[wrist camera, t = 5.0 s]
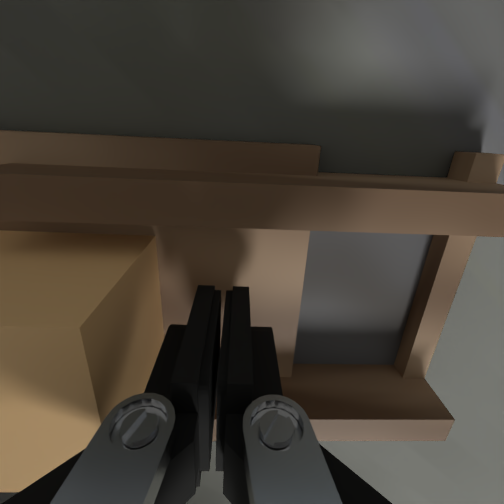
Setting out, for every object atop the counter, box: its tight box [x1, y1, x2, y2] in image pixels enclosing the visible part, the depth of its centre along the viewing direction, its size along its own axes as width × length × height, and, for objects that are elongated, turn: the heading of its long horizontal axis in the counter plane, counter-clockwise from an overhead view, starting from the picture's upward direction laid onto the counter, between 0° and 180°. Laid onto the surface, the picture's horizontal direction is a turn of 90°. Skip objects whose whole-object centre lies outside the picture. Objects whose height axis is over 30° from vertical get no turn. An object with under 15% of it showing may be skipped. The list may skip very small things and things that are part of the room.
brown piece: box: [0, 130, 504, 441], centre depth 10 cm, size 12×22×3 cm, turn 87°
